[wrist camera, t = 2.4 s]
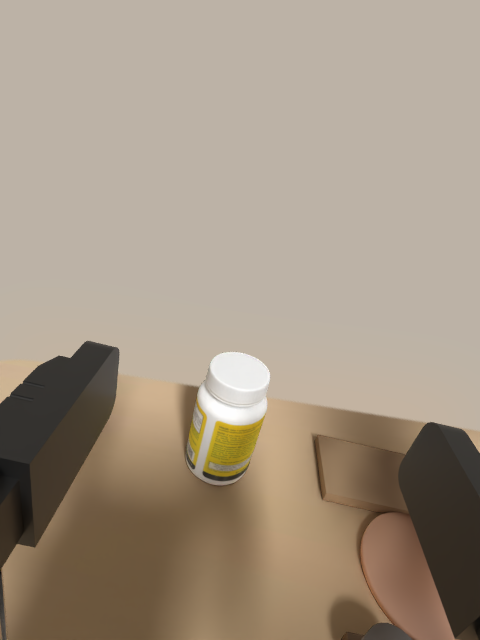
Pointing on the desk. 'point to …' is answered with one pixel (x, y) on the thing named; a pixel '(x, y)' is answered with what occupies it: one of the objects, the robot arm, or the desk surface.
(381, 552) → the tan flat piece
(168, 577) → the desk surface
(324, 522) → the desk surface
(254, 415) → the supplement bottle
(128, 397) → the desk surface
